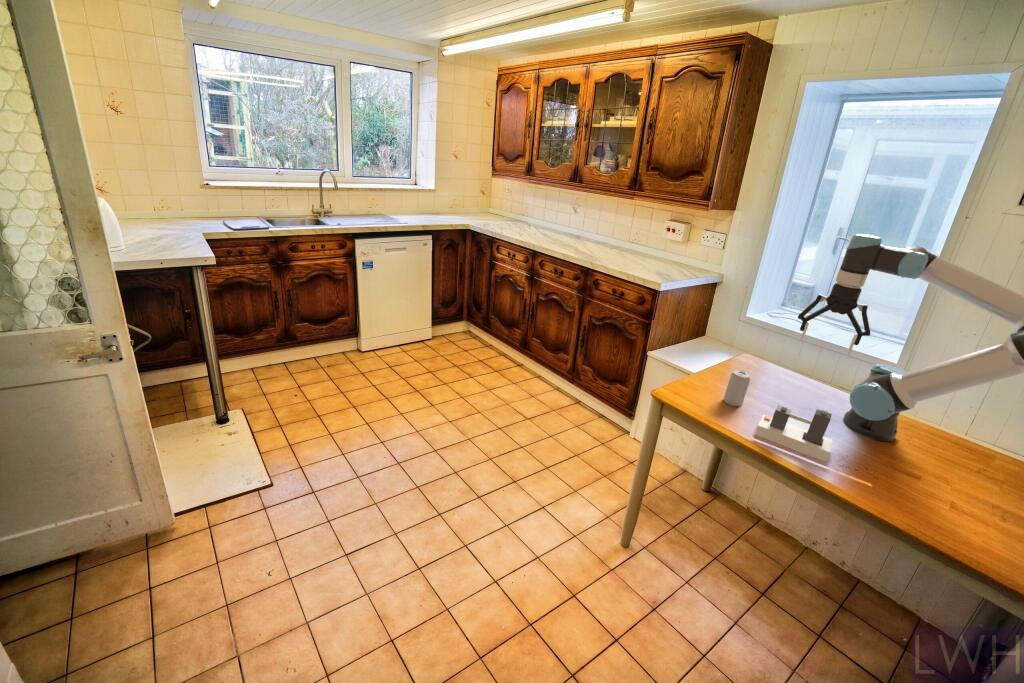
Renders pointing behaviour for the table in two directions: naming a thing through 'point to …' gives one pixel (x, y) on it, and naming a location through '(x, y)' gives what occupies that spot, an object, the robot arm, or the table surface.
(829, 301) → the robot arm
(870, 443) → the table surface
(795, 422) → the tray
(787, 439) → the strip
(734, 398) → the beverage can
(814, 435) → the plug
